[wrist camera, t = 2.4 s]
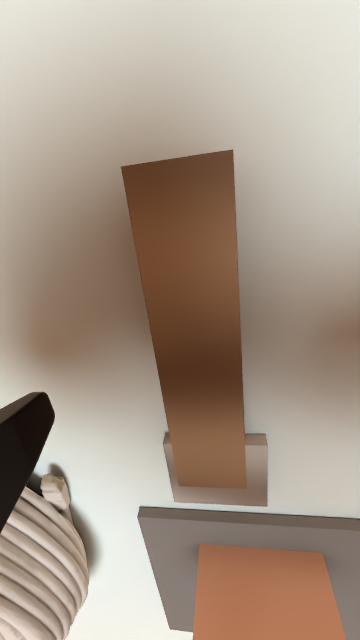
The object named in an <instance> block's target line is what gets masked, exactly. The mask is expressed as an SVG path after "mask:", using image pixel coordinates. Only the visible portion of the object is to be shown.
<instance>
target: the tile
mask: <svg viewBox="0 0 360 640" xmlns="http://www.w3.org/2000/svg"><path fill="white" fill-rule="evenodd" d="M193 640H346V637H345V633H344V630H343V626H342V622H341V618H340V615H339V611H338V607H337V604H336V600H335V596H334V593H333V589H332V585H331V582H330V578H329V574H328V570H327V567H326V563H325V559H324V556H323V553H317V552H304V551H291V550H278V549H265V548H252V547H239V546H226V545H212V544H199V556H198V571H197V586H196V600H195V615H194V630H193Z"/></svg>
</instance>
